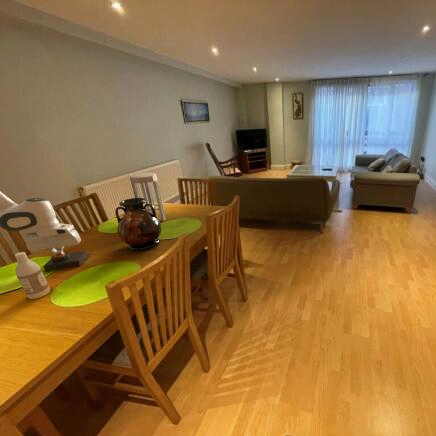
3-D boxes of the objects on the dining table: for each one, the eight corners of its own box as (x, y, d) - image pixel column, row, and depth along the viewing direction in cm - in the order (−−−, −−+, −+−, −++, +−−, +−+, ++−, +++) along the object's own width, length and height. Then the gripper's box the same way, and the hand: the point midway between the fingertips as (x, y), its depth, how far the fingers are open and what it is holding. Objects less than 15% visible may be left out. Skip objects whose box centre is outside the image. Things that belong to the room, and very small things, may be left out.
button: (54, 260, 121) (52, 257, 120) (58, 256, 124) (56, 253, 124) (63, 259, 122) (62, 255, 121) (67, 255, 126) (66, 252, 125)
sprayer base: (45, 271, 118) (41, 263, 116) (56, 260, 128) (53, 252, 126) (80, 266, 123) (76, 257, 121) (88, 255, 132) (85, 247, 130)
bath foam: (45, 297, 101) (25, 256, 93) (24, 301, 98) (2, 259, 91) (54, 287, 107) (36, 248, 99) (34, 291, 104) (14, 251, 97)
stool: (150, 218, 184) (139, 172, 170) (170, 218, 183) (160, 172, 170) (137, 226, 169) (124, 177, 156) (158, 226, 169) (147, 177, 155)
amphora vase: (165, 234, 156) (156, 193, 146) (163, 250, 138) (152, 203, 127) (127, 240, 148) (114, 197, 138) (119, 257, 130) (103, 209, 119)
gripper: (17, 236, 111) (29, 261, 116) (71, 229, 118) (80, 253, 123) (25, 230, 117) (37, 255, 122) (77, 224, 123) (85, 248, 128)
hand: (59, 254), depth 122 cm, fingers closed, pressing on button
